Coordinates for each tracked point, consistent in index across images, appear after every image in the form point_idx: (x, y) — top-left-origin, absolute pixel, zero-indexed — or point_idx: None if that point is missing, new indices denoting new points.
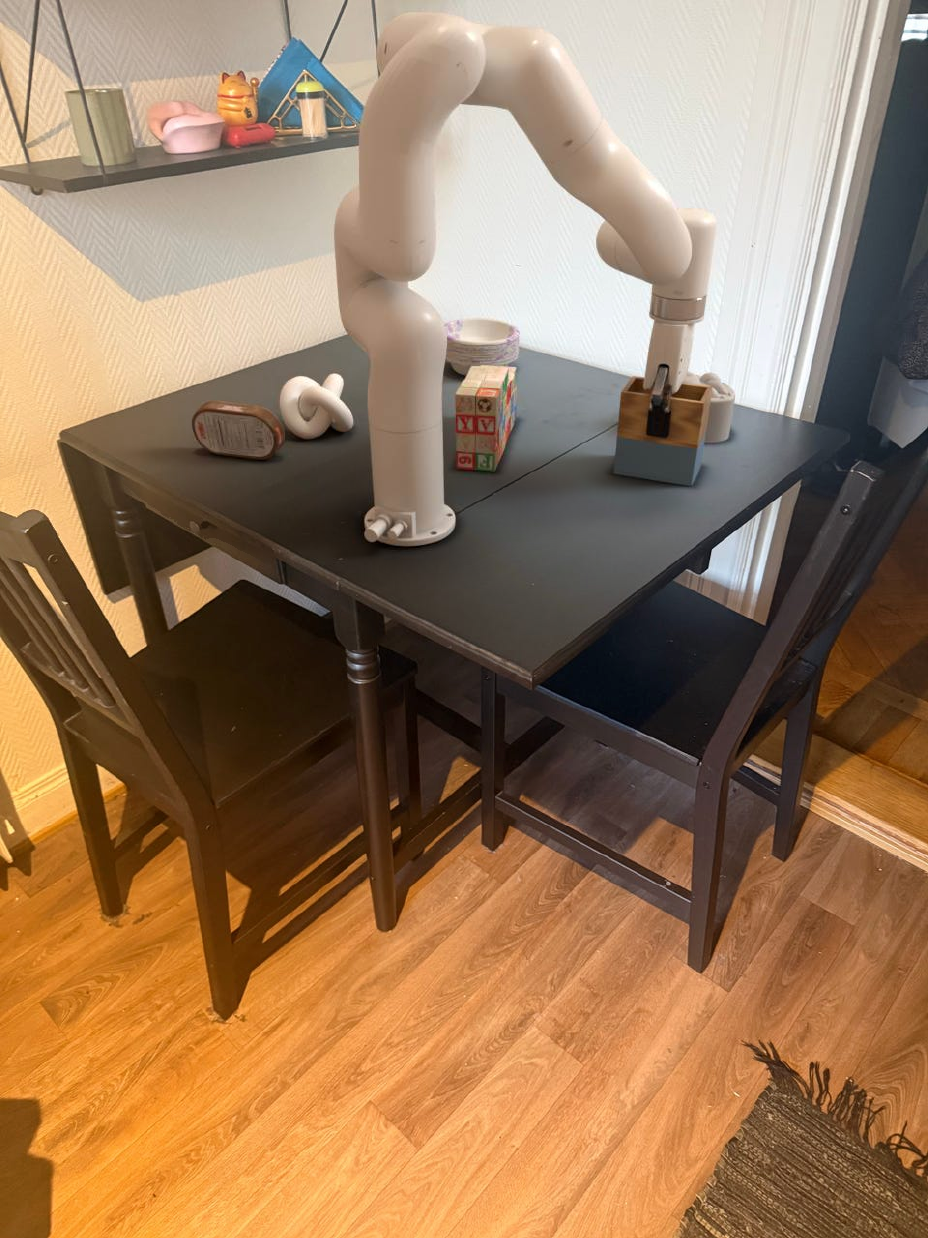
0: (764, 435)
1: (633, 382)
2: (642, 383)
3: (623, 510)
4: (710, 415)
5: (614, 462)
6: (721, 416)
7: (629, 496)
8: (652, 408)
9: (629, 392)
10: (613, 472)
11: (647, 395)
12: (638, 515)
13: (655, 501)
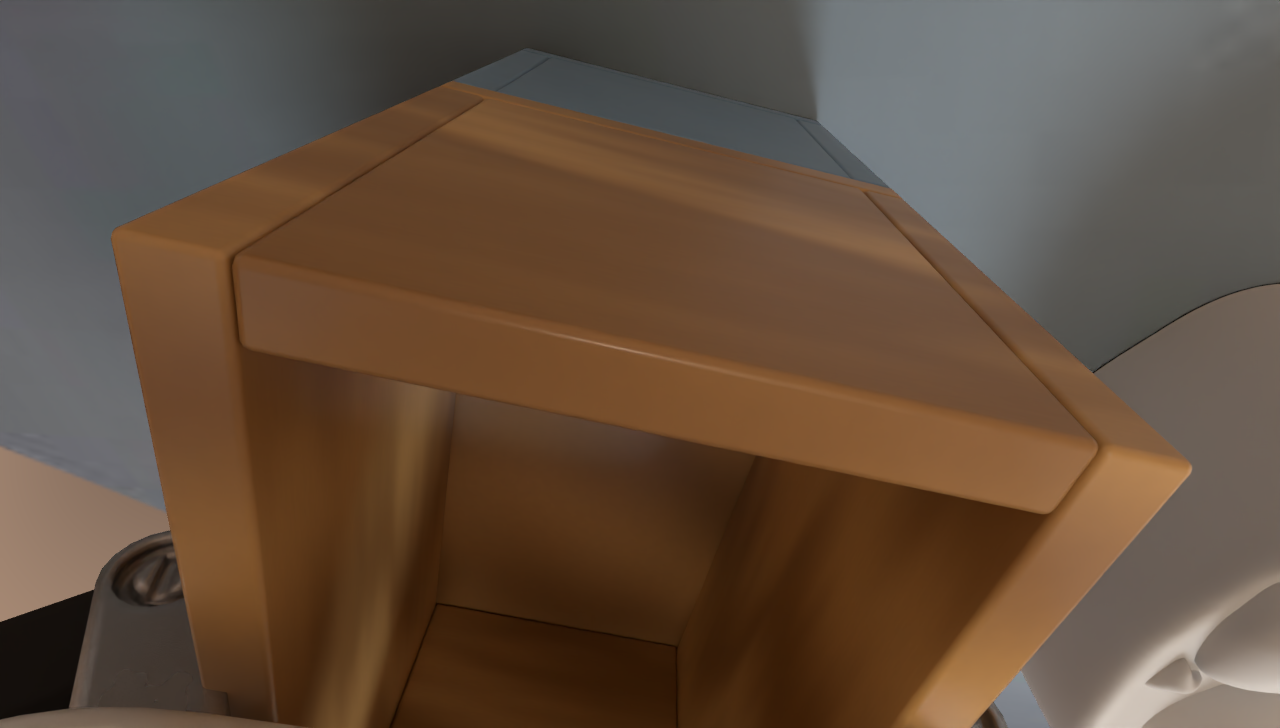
0: (1020, 699)
1: (823, 463)
2: (946, 544)
3: (70, 126)
4: None
5: (507, 56)
6: (1026, 680)
7: (254, 158)
8: (63, 600)
9: (172, 399)
10: (525, 48)
11: (192, 637)
12: (63, 207)
13: None
